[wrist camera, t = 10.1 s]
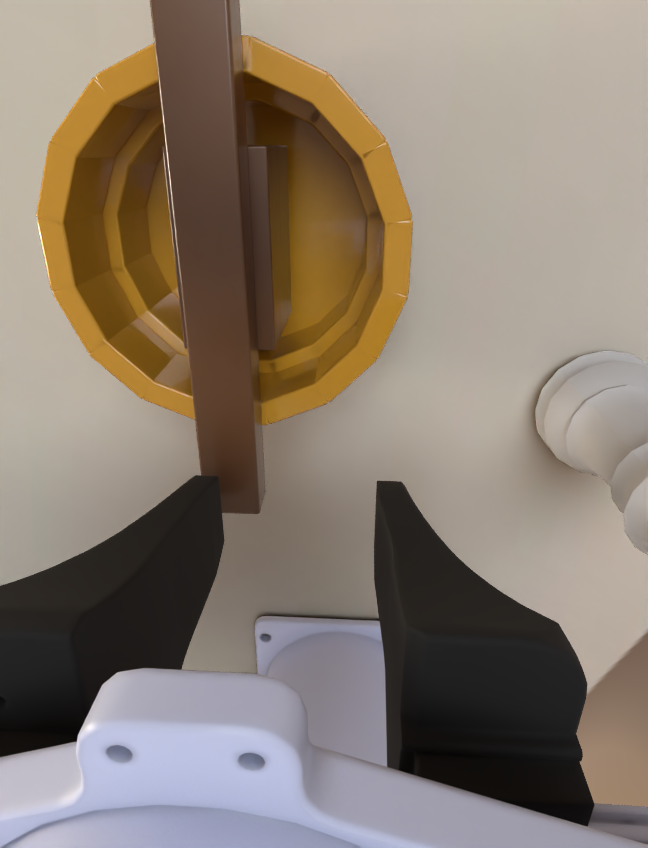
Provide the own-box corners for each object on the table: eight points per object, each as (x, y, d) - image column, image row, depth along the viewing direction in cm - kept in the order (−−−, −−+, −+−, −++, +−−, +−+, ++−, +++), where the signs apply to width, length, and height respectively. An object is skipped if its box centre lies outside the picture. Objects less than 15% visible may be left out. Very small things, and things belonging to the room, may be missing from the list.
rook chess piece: (506, 406, 22) (576, 535, 15) (605, 320, 20) (740, 417, 13) (582, 476, 23) (682, 629, 16) (682, 400, 21) (845, 531, 14)
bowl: (391, 363, 21) (400, 429, 16) (141, 358, 22) (76, 421, 17) (407, 64, 17) (424, 33, 12) (99, 68, 18) (-3, 38, 13)
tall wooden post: (294, 434, 21) (275, 515, 17) (227, 432, 21) (188, 512, 17) (282, -47, 15) (246, -132, 10) (187, -45, 15) (110, -129, 11)
